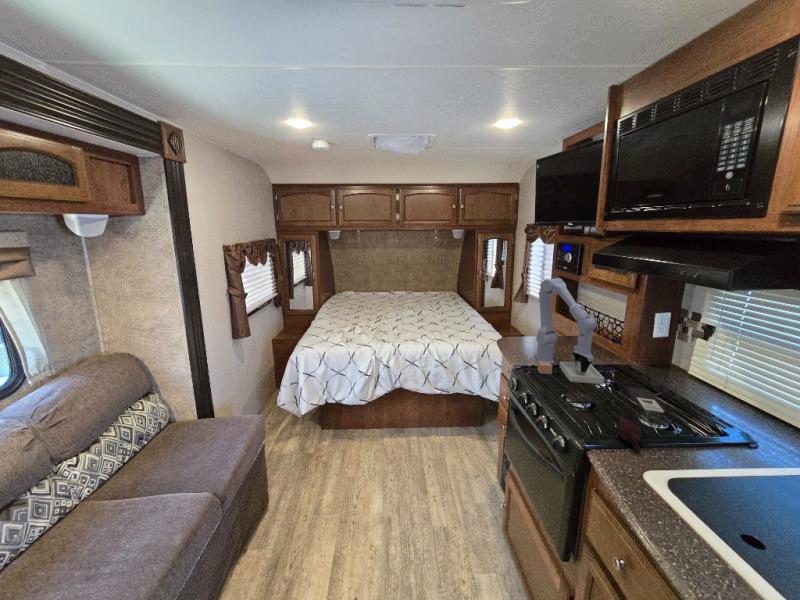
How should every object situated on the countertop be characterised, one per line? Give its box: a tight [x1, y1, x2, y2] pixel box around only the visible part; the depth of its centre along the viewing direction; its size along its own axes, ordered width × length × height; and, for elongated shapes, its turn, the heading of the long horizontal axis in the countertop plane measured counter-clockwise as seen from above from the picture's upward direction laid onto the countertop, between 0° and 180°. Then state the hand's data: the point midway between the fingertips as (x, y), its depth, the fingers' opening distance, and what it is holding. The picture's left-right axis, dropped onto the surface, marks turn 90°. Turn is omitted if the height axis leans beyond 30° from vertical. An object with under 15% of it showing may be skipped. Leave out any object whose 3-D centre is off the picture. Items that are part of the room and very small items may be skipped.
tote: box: [559, 361, 605, 385], centre depth 155 cm, size 16×14×3 cm
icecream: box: [614, 415, 642, 453], centre depth 108 cm, size 7×7×15 cm
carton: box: [537, 361, 553, 375], centre depth 158 cm, size 4×6×4 cm
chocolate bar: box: [624, 386, 669, 415], centre depth 133 cm, size 9×1×18 cm
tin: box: [575, 360, 586, 374], centre depth 154 cm, size 4×4×6 cm
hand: (580, 369), depth 155 cm, fingers closed on tin, 4 cm apart
